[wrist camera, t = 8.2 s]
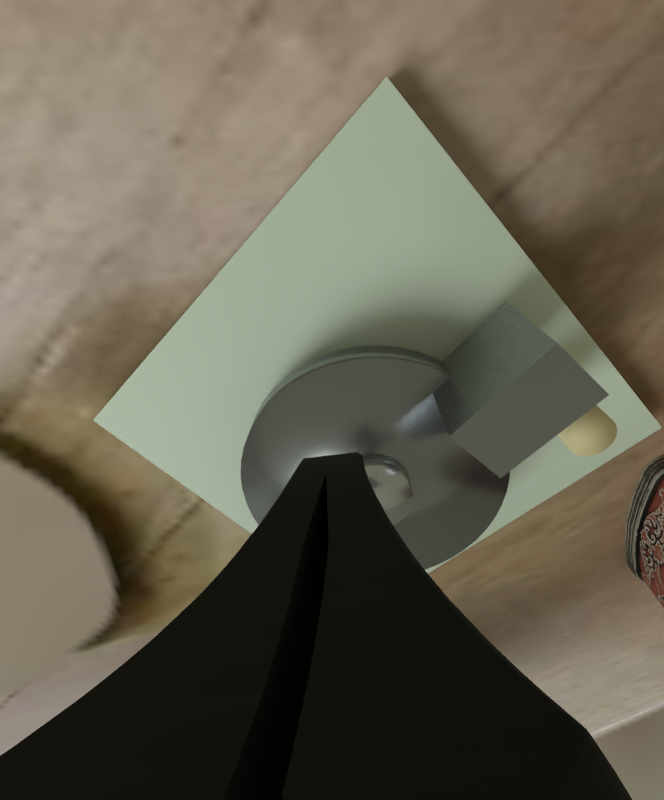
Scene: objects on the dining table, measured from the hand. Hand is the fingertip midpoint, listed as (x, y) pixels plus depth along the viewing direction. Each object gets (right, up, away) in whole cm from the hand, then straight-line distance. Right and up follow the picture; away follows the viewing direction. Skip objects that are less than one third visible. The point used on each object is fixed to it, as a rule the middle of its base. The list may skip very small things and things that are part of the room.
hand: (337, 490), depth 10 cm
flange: (+3, 0, +9) cm, 9 cm away
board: (+2, +1, +11) cm, 11 cm away
